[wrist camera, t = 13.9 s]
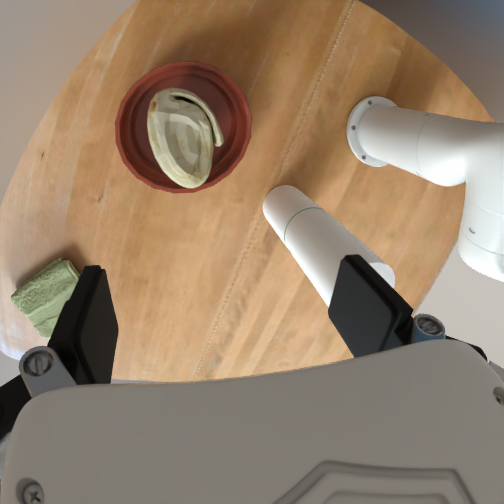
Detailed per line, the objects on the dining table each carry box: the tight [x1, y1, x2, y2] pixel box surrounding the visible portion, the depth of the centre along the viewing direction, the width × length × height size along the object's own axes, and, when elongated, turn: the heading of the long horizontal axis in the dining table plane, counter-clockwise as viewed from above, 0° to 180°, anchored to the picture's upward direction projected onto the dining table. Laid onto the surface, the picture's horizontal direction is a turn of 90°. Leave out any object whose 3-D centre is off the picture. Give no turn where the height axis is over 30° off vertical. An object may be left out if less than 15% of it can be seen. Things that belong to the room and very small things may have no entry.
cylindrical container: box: [263, 185, 395, 307], centre depth 38 cm, size 7×7×25 cm
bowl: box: [115, 61, 252, 194], centre depth 36 cm, size 17×17×6 cm
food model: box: [147, 88, 224, 188], centre depth 30 cm, size 10×7×20 cm
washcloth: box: [11, 257, 80, 339], centre depth 45 cm, size 13×18×3 cm
